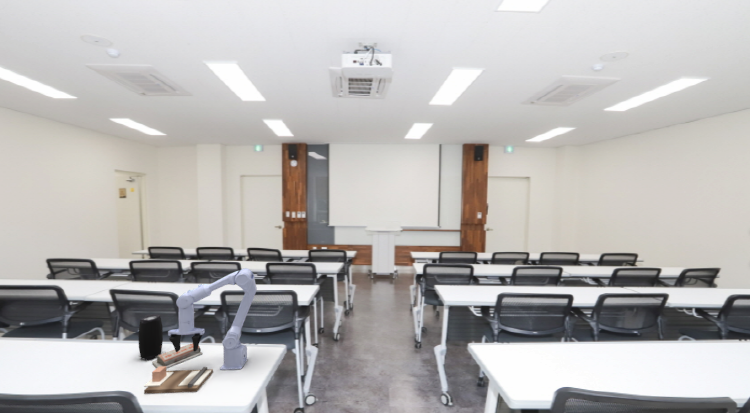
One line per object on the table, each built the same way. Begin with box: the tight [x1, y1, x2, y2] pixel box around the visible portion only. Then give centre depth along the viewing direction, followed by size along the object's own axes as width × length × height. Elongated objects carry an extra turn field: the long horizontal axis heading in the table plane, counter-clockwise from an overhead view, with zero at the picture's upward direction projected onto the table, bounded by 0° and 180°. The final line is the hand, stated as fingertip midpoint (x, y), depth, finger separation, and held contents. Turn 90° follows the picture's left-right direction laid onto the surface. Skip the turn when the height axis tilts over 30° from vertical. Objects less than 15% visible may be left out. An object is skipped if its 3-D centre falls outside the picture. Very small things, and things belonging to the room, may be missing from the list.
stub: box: [143, 366, 174, 388], centre depth 120 cm, size 6×9×4 cm, turn 3°
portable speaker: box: [137, 313, 164, 362], centre depth 141 cm, size 9×9×20 cm
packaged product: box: [151, 342, 203, 370], centre depth 139 cm, size 18×5×10 cm
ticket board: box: [143, 366, 214, 395], centre depth 121 cm, size 20×13×3 cm, turn 93°
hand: (186, 350), depth 128 cm, fingers open, 7 cm apart
